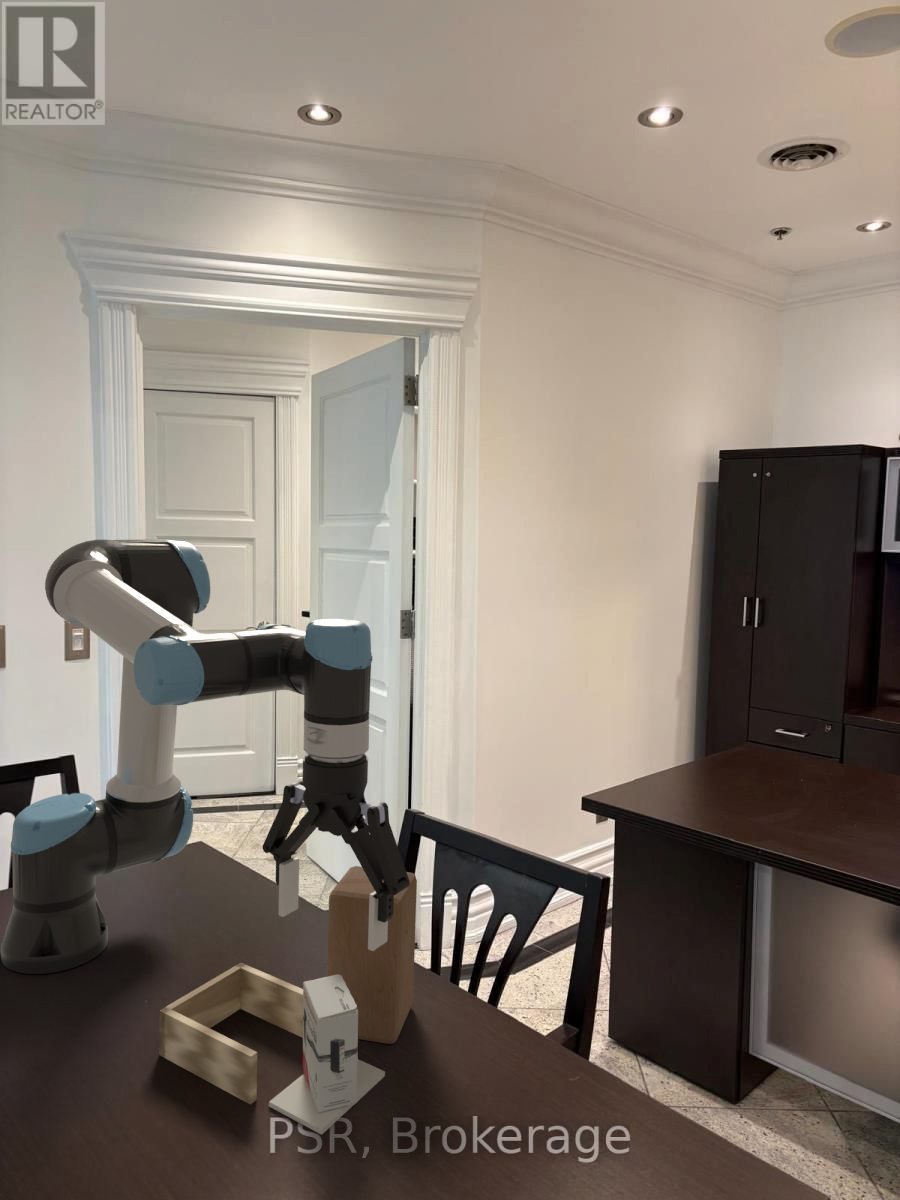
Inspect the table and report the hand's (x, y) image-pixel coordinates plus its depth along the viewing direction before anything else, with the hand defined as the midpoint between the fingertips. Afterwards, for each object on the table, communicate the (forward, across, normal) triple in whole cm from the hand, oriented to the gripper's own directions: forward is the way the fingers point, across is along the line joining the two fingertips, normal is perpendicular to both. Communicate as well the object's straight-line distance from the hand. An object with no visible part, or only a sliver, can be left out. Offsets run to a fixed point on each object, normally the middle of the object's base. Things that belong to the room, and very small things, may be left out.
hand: (331, 928), depth 99 cm
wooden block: (+21, -4, +14) cm, 26 cm away
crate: (+21, -14, 0) cm, 25 cm away
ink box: (+20, 0, 0) cm, 20 cm away
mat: (+20, 0, 0) cm, 21 cm away
